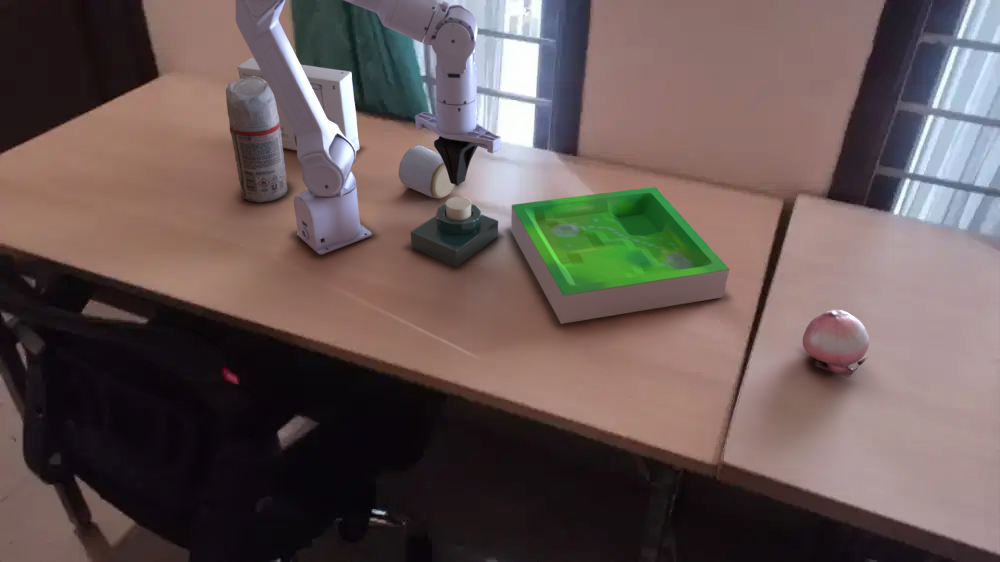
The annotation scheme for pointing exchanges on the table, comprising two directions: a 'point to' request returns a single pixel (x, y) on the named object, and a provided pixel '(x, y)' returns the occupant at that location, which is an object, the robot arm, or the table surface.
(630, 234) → the tray
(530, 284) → the table surface
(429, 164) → the ceramic mug
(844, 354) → the onion
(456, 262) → the dark green button base
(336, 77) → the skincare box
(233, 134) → the spray can
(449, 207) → the white push button
